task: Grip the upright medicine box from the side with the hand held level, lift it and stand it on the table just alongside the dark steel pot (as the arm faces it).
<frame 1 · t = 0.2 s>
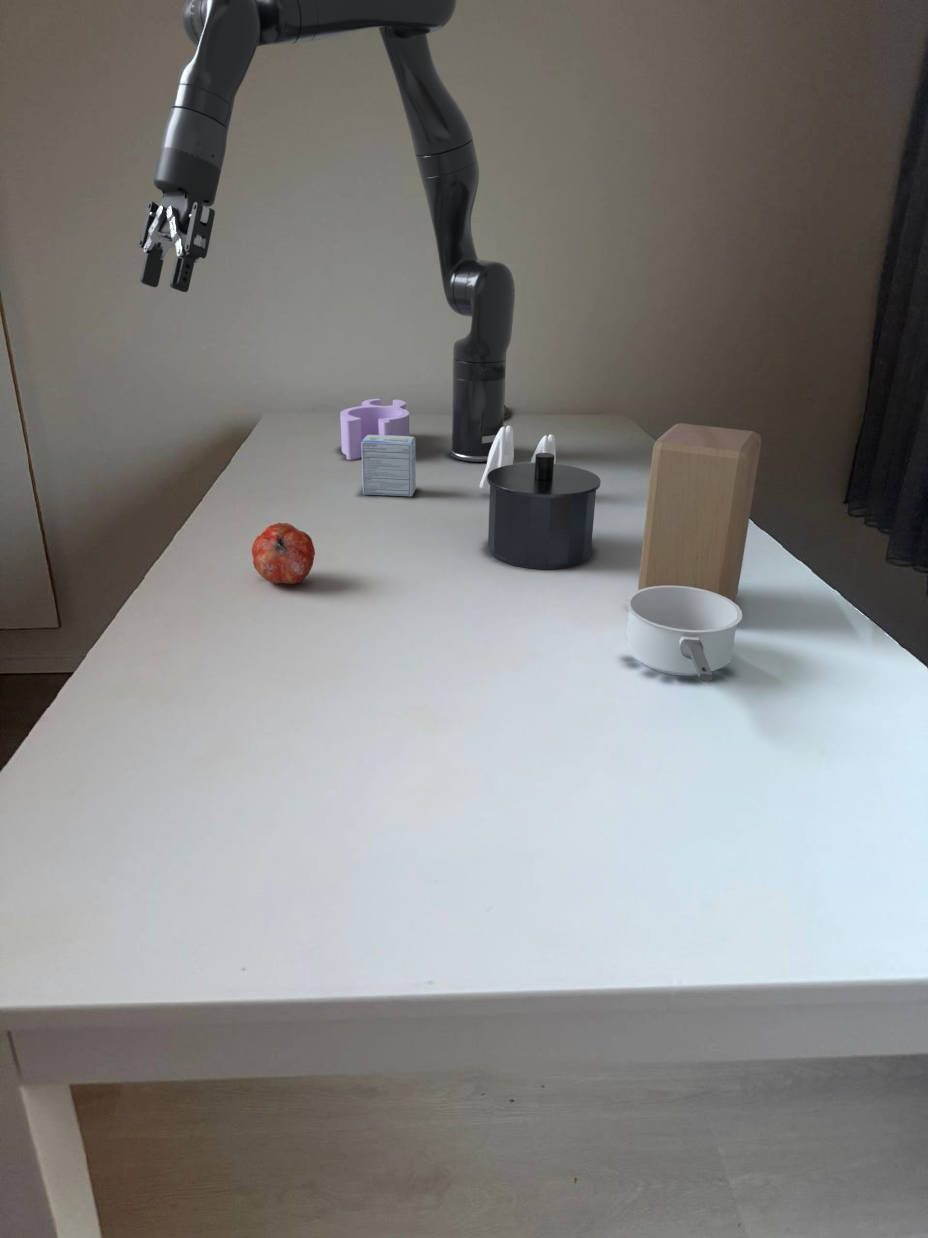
hand: (163, 287, 117), 31 cm above the table, tool tilted 20°, fingers open, 8 cm apart
pot lid: (543, 481, 117), point 9 cm above the table, touching pot
clip: (378, 447, 170), on the table
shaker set: (516, 497, 143), on the table
saucepan: (682, 677, 90), on the table
wooden block: (686, 606, 106), on the table
pomegranate: (285, 581, 110), on the table
pot: (539, 550, 121), on the table
medicine box: (389, 493, 144), on the table
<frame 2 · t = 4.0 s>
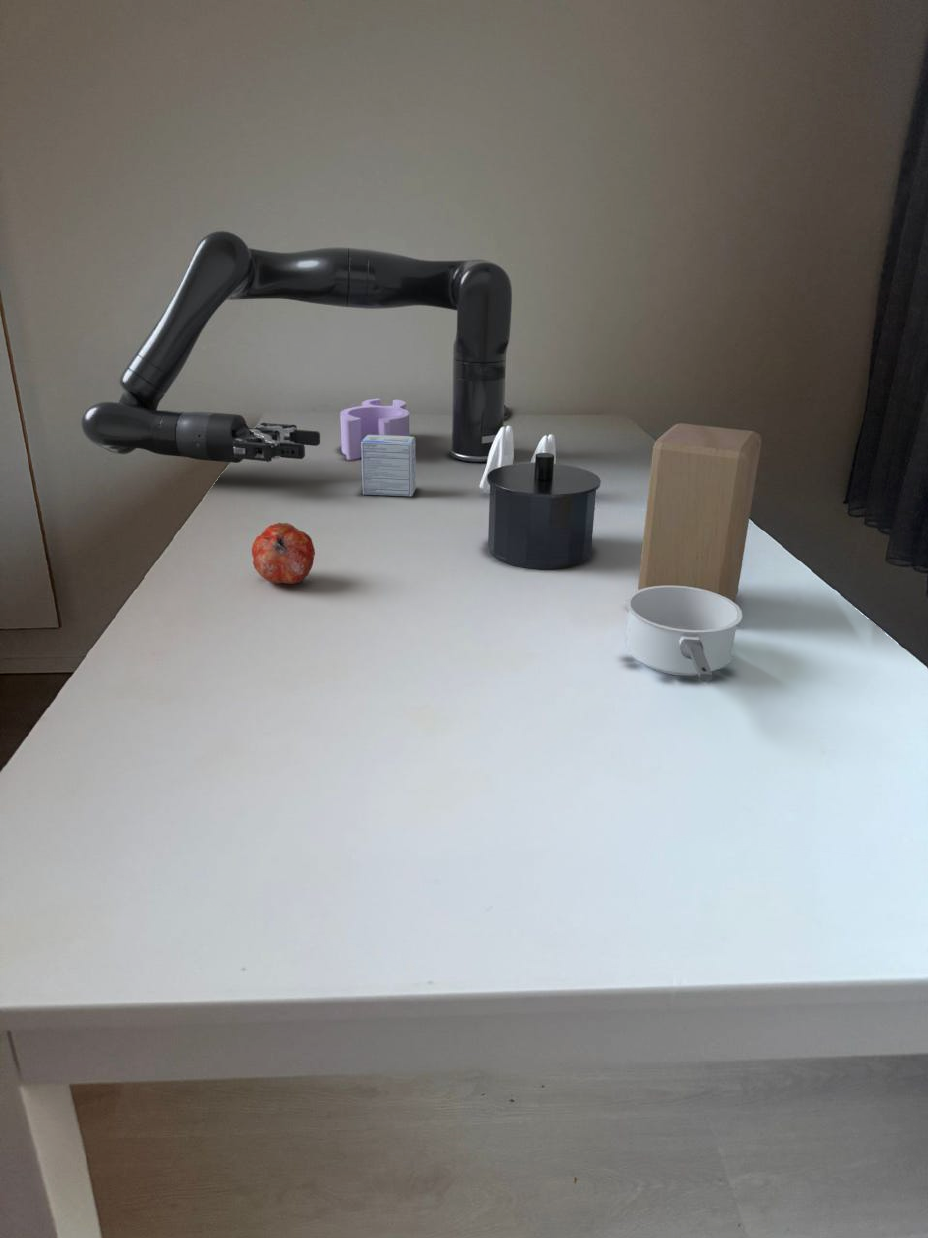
hand: (312, 444, 142), 7 cm above the table, tool horizontal, fingers open, 8 cm apart
nothing on the table moved.
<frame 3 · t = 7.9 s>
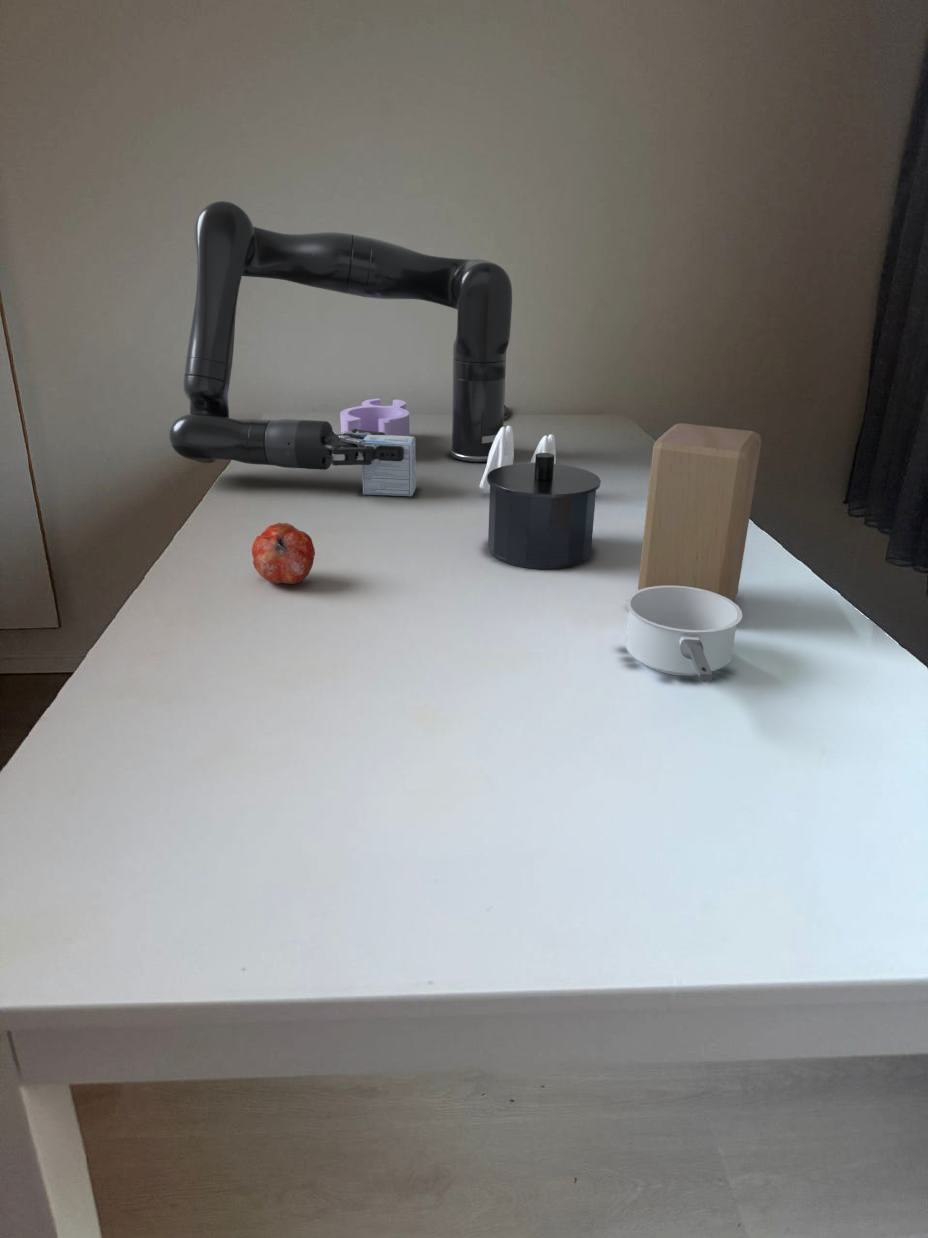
hand: (405, 449, 140), 7 cm above the table, tool horizontal, fingers closed on medicine box, 4 cm apart
medicine box: (389, 493, 144), on the table, touching gripper
everything else where it was.
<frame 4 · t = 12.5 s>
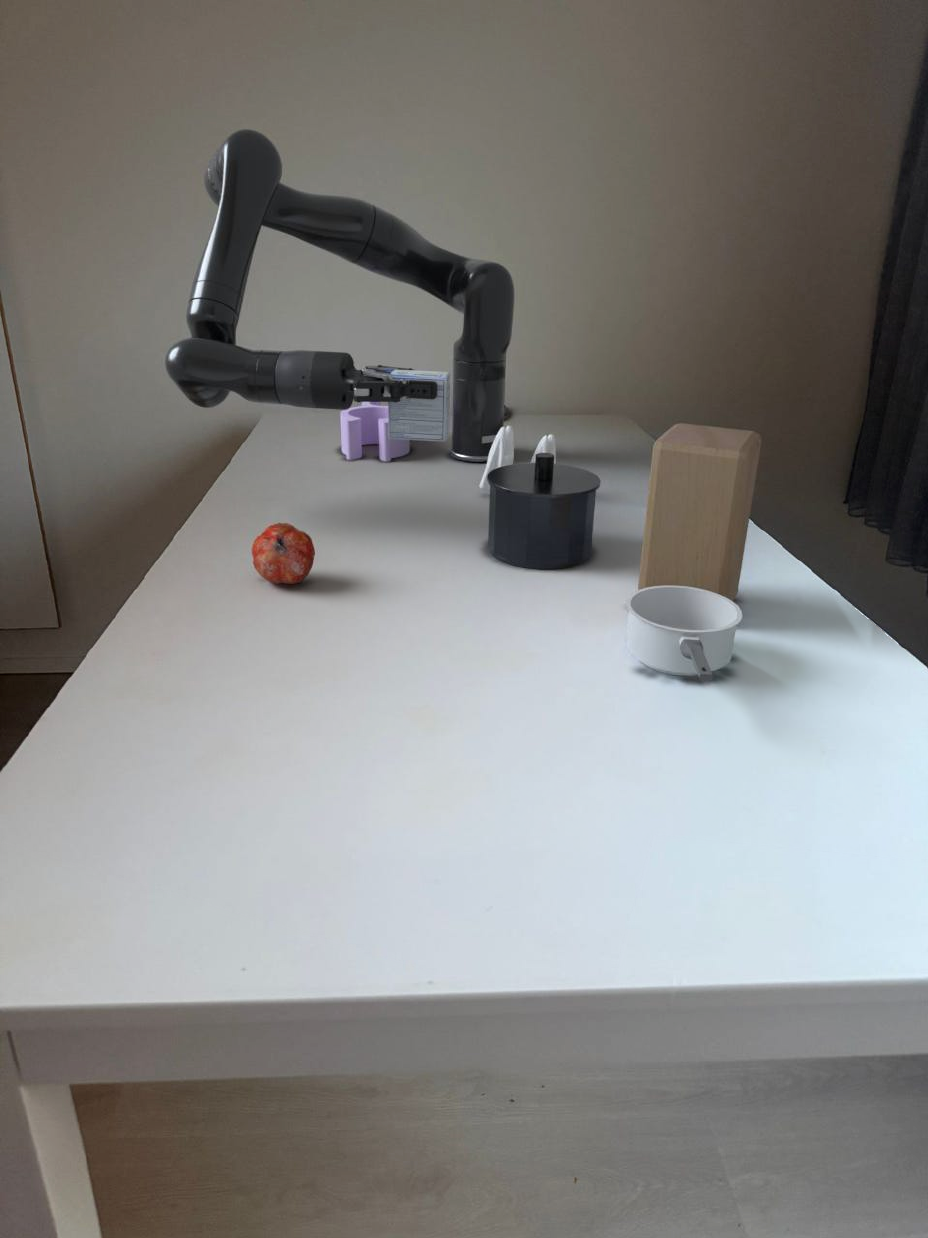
hand: (439, 386, 121), 20 cm above the table, tool horizontal, fingers closed on medicine box, 4 cm apart
medicine box: (419, 439, 124), point 13 cm above the table, touching gripper
everything else where it was.
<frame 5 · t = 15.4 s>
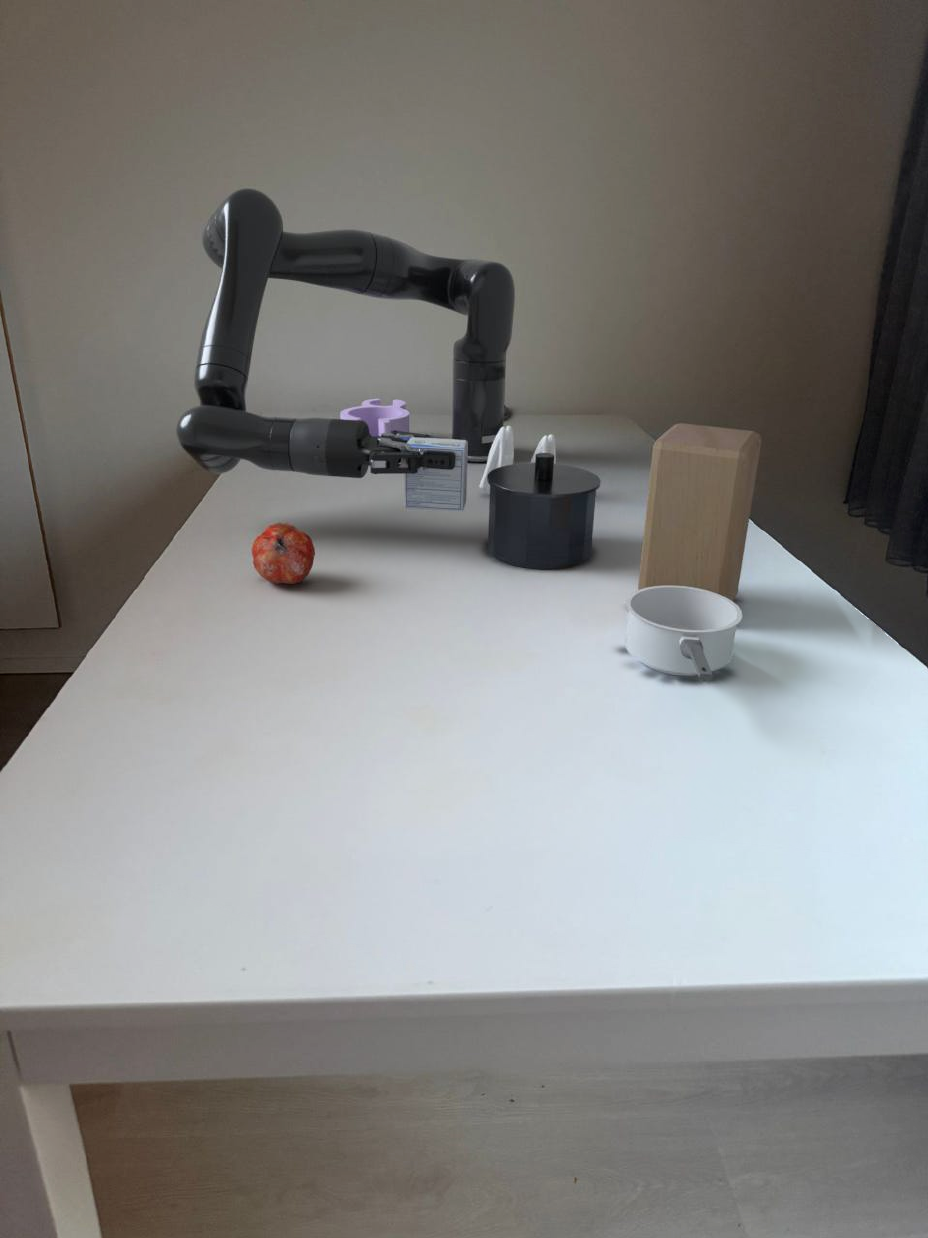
hand: (457, 455, 118), 12 cm above the table, tool horizontal, fingers closed on medicine box, 4 cm apart
medicine box: (435, 507, 121), point 5 cm above the table, touching gripper
everything else where it was.
when the fingers open (7 cm above the table, at t = 17.2 s): medicine box stays where it is, on the table.
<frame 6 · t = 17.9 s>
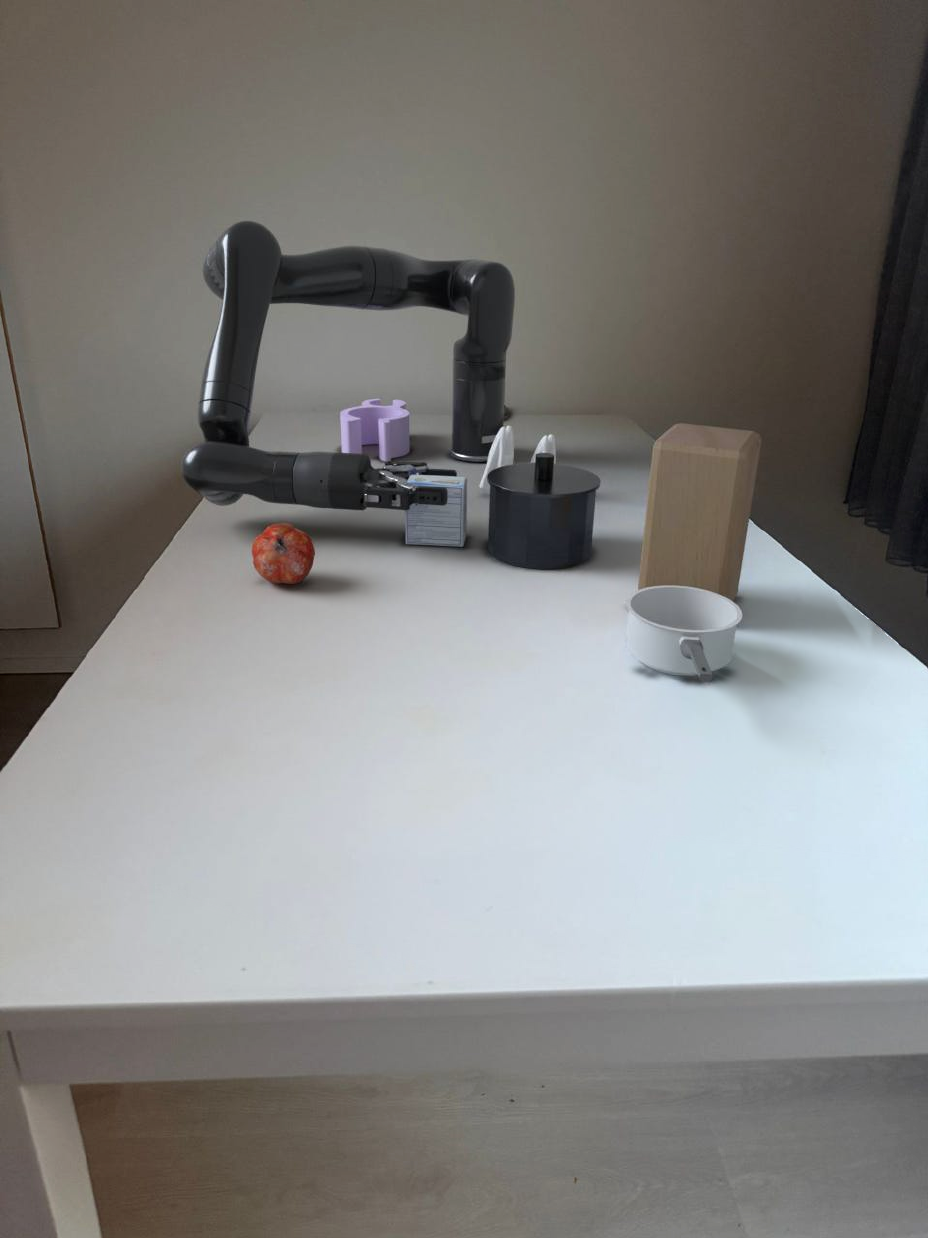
hand: (452, 487, 120), 8 cm above the table, tool horizontal, fingers open, 8 cm apart
medicine box: (436, 542, 124), on the table
everything else where it was.
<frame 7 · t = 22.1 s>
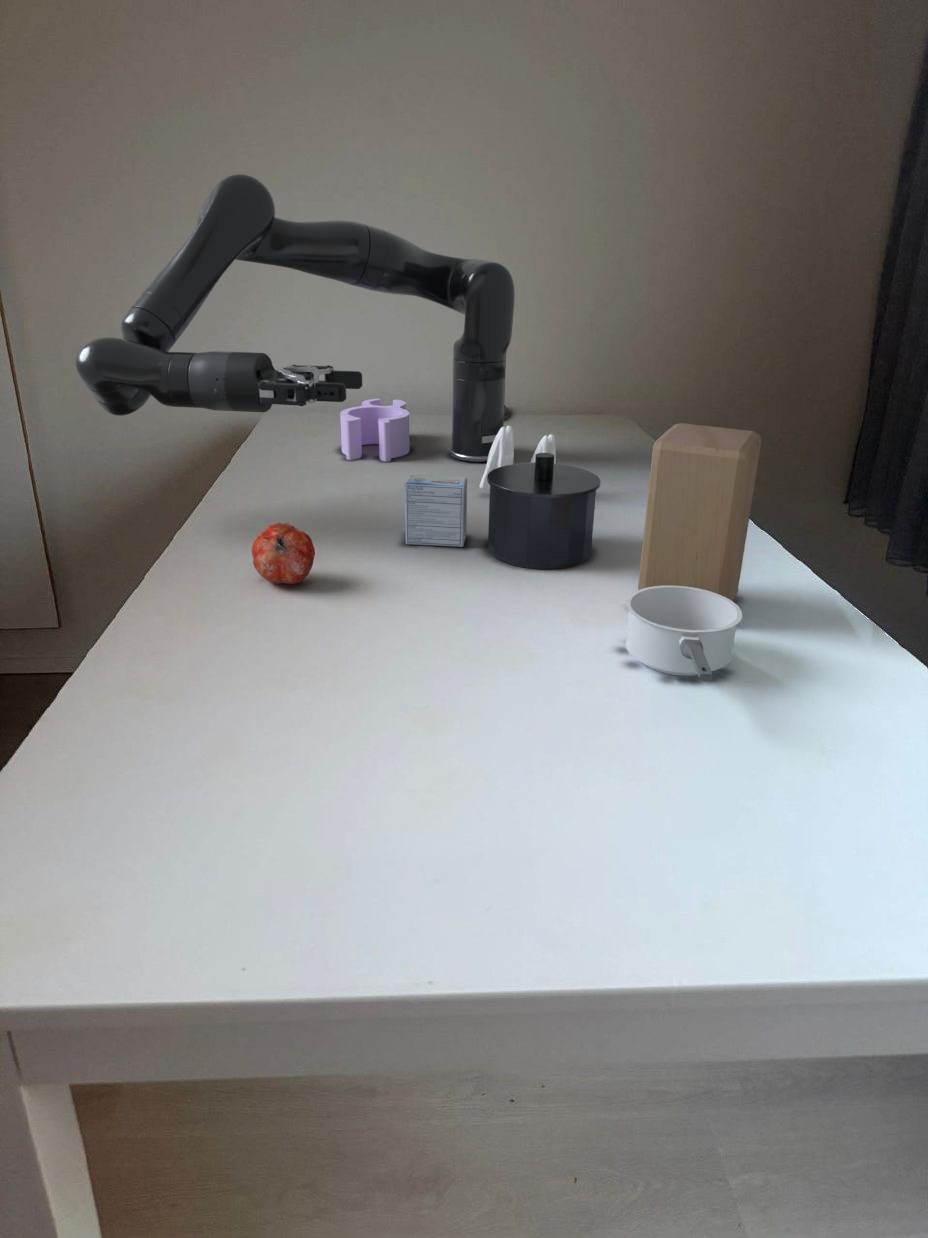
hand: (353, 386, 116), 20 cm above the table, tool horizontal, fingers open, 8 cm apart
nothing on the table moved.
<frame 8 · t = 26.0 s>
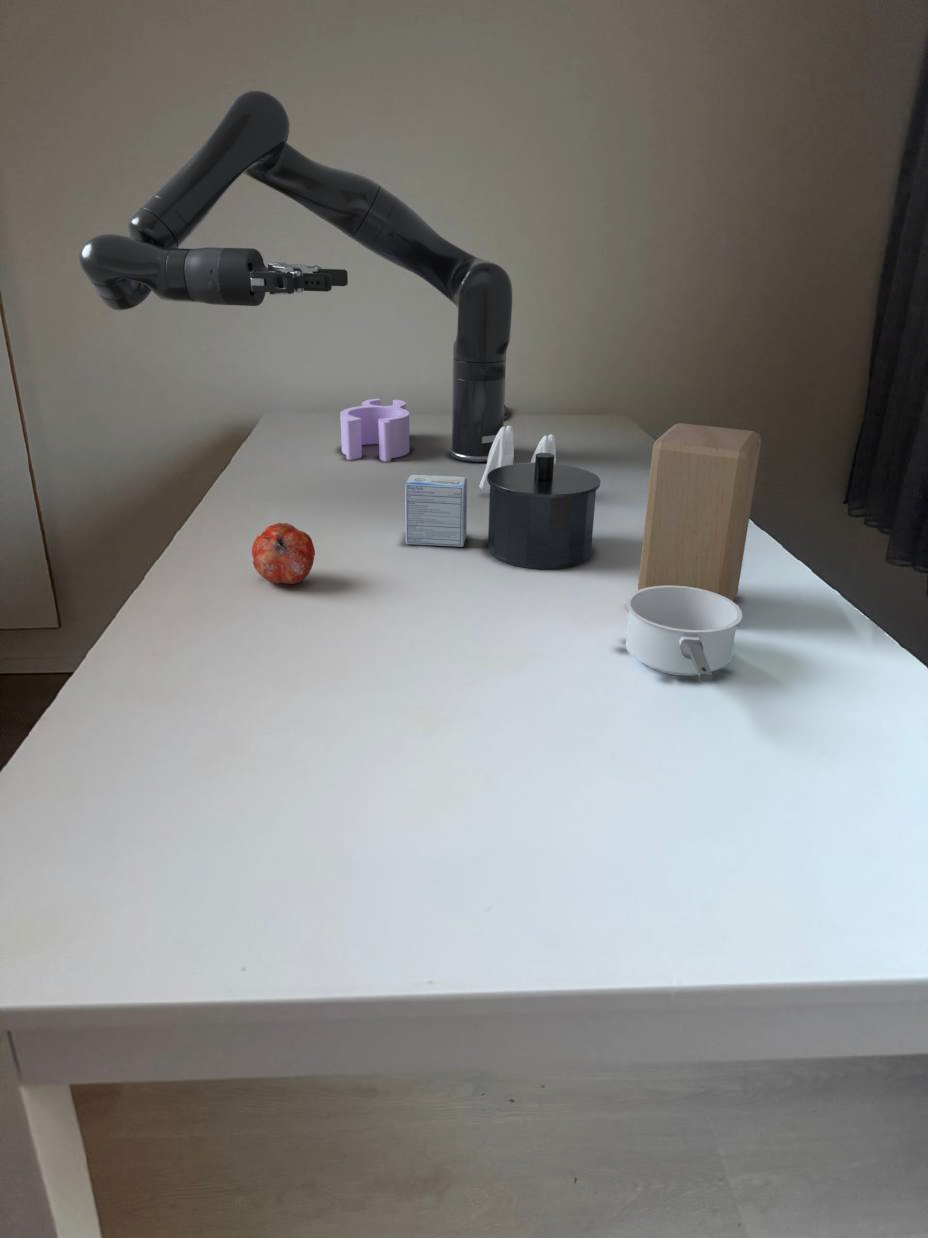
hand: (339, 280, 124), 32 cm above the table, tool horizontal, fingers open, 8 cm apart
nothing on the table moved.
at the end: medicine box inside the target area on the table beside the pot (0.3 cm from its centre), on the table; medicine box tilted 0°; the gripper is holding nothing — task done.
